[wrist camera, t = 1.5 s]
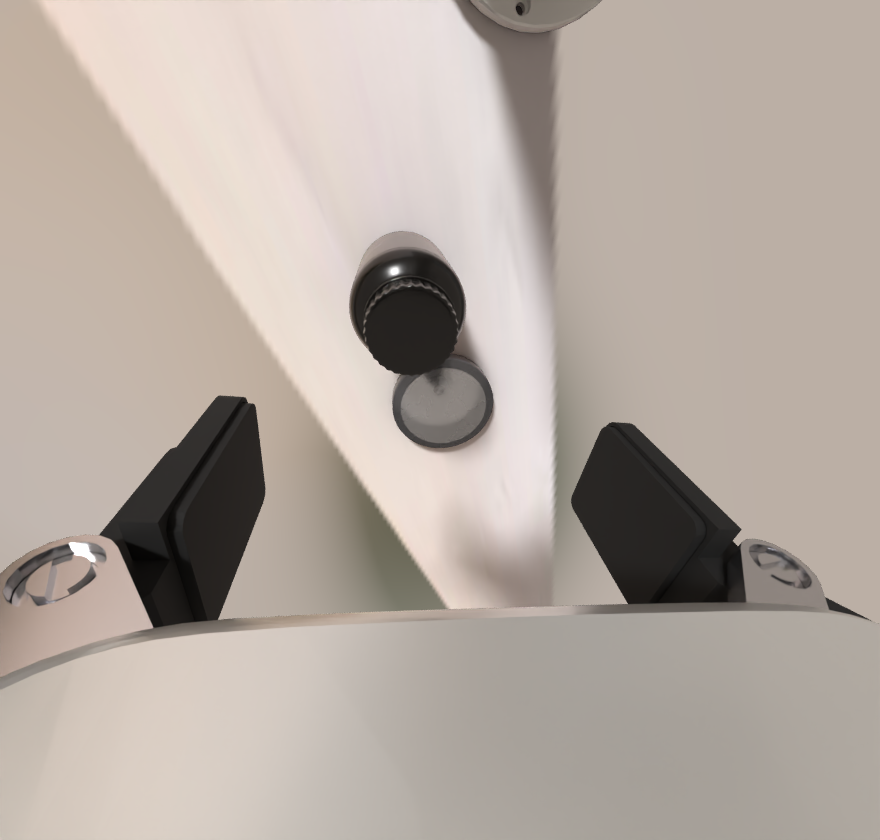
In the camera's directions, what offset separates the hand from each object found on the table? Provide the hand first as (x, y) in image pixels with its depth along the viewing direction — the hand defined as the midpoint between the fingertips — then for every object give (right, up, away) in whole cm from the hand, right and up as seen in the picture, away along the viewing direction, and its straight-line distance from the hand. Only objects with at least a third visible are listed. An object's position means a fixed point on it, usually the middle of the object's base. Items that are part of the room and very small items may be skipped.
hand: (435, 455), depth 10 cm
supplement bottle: (-3, +12, +19) cm, 22 cm away
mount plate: (0, +3, +24) cm, 25 cm away
